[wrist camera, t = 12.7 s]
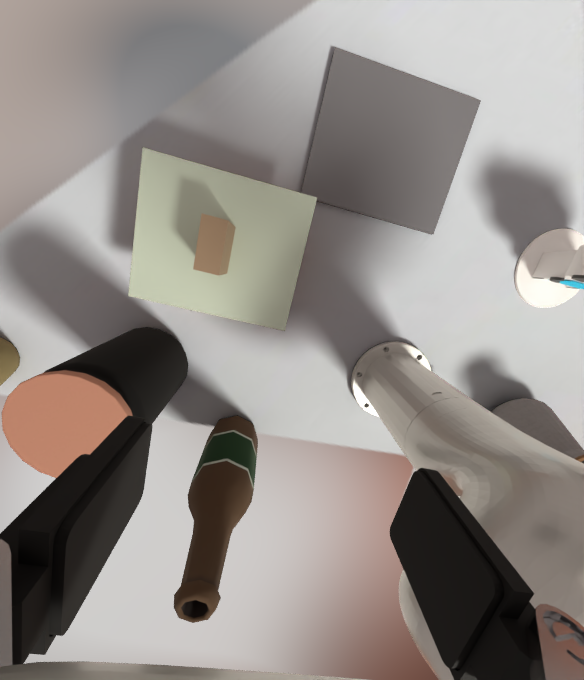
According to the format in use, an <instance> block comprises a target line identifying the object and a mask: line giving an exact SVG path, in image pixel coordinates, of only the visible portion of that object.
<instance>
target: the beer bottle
mask: <svg viewBox="0 0 584 680" xmlns="http://www.w3.org/2000/svg"><path fill="white" fill-rule="evenodd" d="M257 444H258V441H257V436H256V432H255V429H254V425H253V423H251V422H249V421H247V420H245V419H243V418H242V417H240V416H238V415H237V416H232V417H228V418H223V419H220V420H219V421H218V423H217V424H216V426H215V427H214V429H213V430H212V432H211V434H210V436H209V438H208V440H207V442H206V445H205V448H204V450H203V453H202V456H201V458H200V461H199V464H198V467H197V469H196V472H195V474H194V477H193V480H192V483H191V486H190V489H189V494H188V503H189V509H190V511H191V514H192V516H193V519H194V528H193V535H192V540H191V544H190V548H189V553H188V558H187V561H186V566H185V570H184V575H183V579H182V583H181V587H180V588H179V589H178V591H177V592H176V593H175V595H174V609H175V611H176V613H177V615H178V617H179V618H181V619H184V620H186V621H189V622H192V623H194V622H199V621H203V620H208V619H209V618H210V616H211V615H212V614H213V612H214V611H215V610H216V608H217V605H218V603H219V600H220V595H219V592H218V588H219V584H220V579H221V574H222V570H223V566H224V562H225V557H226V553H227V548H228V544H229V540H230V536H231V533H232V530H233V528H234V527H235V526H236V525H237V523H238V522H239V521H240V519H241V518H242V516H243V515H244V514H245V512H246V510H247V509H248V507H249V505H250V503H251V500H252V496H253V490H254V478H255V468H256V457H257V446H258V445H257Z"/></svg>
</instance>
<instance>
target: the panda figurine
mask: <svg viewBox="0 0 584 680" xmlns="http://www.w3.org/2000/svg"><path fill="white" fill-rule="evenodd" d="M515 286H516V290H517V292H518V294H519V296H520V297H521V298H522V299H523V300H524V301H525V302H526V303H527V304H529V305H531V306H534V307H539V308H550V307H554V306H557V305H560V304H562V303H564V302H566V301H567V300H569V299H570V298H571V297H573V296H574V295H575V294H576V293H577V292H578V291H579V290H580V289H584V236H583V235H581V234H580V233H579V232H577V231H574V230H571V229H555V230H551V231H548V232H545V233H543V234H541V235H540V236H538V237H537V238H536V239H534V240H533V241H532V242H531V243H530V244H529V245H528V246H527V247H526V249H525V250H524V251H523V253H522V255H521V256H520V258H519V260H518V263H517V266H516V270H515Z"/></svg>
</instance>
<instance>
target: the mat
mask: <svg viewBox="0 0 584 680" xmlns="http://www.w3.org/2000/svg"><path fill="white" fill-rule="evenodd" d="M480 102H481V100H478V99H475V98H473V97H470V96H467V95H464V94H462V93H459V92H456V91H453V90H451V89H448V88H445V87H442V86H440V85H437V84H434V83H432V82H429V81H426V80H423V79H421V78H418V77H415V76H412V75H410V74H407V73H404V72H401V71H399V70H396V69H393V68H390V67H388V66H385V65H382V64H380V63H377V62H374V61H371V60H369V59H366V58H363V57H360V56H358V55H355V54H352V53H349V52H347V51H344V50H341V49H338V48H336V47H335V49H334V53H333V58H332V62H331V66H330V70H329V75H328V79H327V83H326V87H325V92H324V96H323V100H322V105H321V109H320V113H319V117H318V122H317V126H316V130H315V134H314V139H313V143H312V147H311V151H310V156H309V160H308V164H307V168H306V173H305V177H304V181H303V186H302V190H301V193H303V194H306V195H310V196H313V197H317V201H319V202H322V203H325V204H329V205H332V206H336V207H339V208H343V209H346V210H349V211H353V212H356V213H360V214H363V215H367V216H370V217H373V218H377V219H380V220H384V221H387V222H390V223H394V224H397V225H401V226H404V227H408V228H411V229H414V230H418V231H421V232H425V233H428V234H434V231H435V228H436V225H437V223H438V220H439V217H440V214H441V211H442V208H443V206H444V203H445V200H446V197H447V194H448V192H449V189H450V186H451V183H452V180H453V178H454V175H455V172H456V169H457V166H458V163H459V161H460V158H461V155H462V152H463V149H464V147H465V144H466V141H467V138H468V135H469V133H470V130H471V127H472V124H473V121H474V118H475V116H476V113H477V110H478V107H479V104H480Z"/></svg>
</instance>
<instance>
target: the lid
mask: <svg viewBox="0 0 584 680" xmlns="http://www.w3.org/2000/svg"><path fill="white" fill-rule="evenodd" d="M316 201H317V197H313V196H310V195H306V194H303V193H299V192H296V191H292V190H289V189H285V188H282V187H278V186H275V185H271V184H268V183H265V182H261V181H258V180H254V179H251V178H247V177H244V176H240V175H237V174H233V173H230V172H226V171H223V170H219V169H216V168H212V167H209V166H206V165H202V164H199V163H195V162H192V161H188V160H185V159H181V158H178V157H174V156H171V155H167V154H164V153H160V152H157V151H153V150H150V149H147V148H142V159H141V169H140V179H139V190H138V200H137V210H136V221H135V231H134V241H133V252H132V262H131V272H130V283H129V293H128V296H130V297H135V298H139V299H144V300H148V301H153V302H157V303H162V304H166V305H171V306H175V307H180V308H184V309H188V310H193V311H197V312H202V313H206V314H211V315H215V316H220V317H224V318H229V319H233V320H237V321H242V322H246V323H251V324H255V325H260V326H264V327H269V328H273V329H278V330H282V331H285V328H286V324H287V319H288V315H289V311H290V307H291V303H292V299H293V295H294V291H295V287H296V283H297V279H298V274H299V270H300V266H301V262H302V258H303V254H304V250H305V246H306V242H307V238H308V234H309V230H310V225H311V221H312V217H313V213H314V209H315V205H316Z"/></svg>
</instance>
